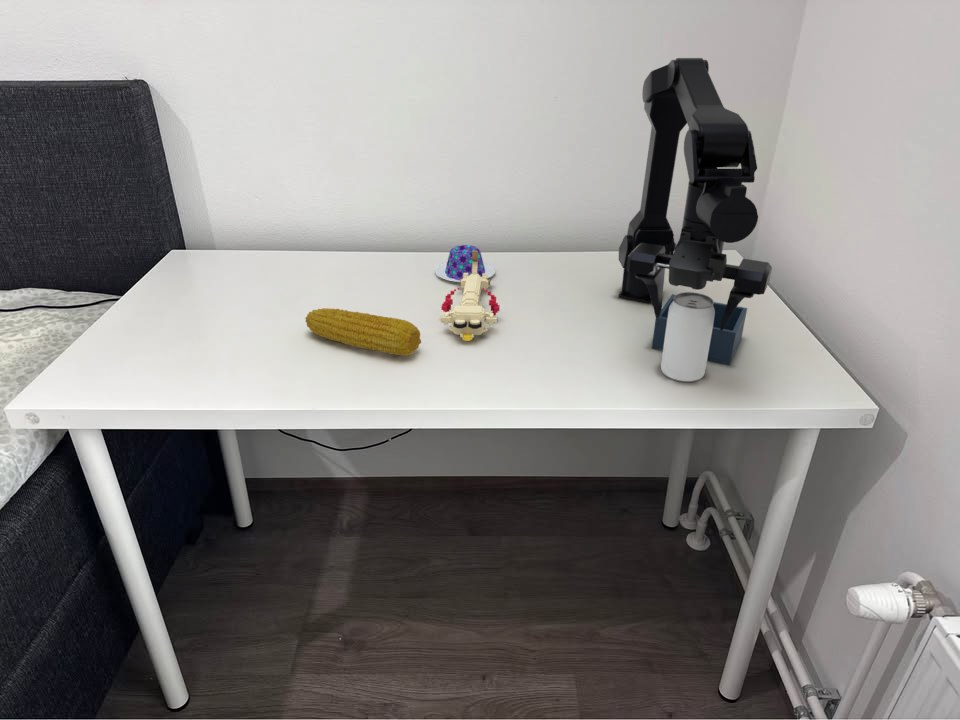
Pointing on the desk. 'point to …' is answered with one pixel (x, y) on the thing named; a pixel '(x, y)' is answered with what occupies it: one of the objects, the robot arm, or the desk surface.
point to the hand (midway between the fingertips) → (689, 322)
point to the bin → (721, 340)
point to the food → (365, 330)
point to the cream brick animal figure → (470, 305)
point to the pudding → (462, 264)
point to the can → (687, 336)
